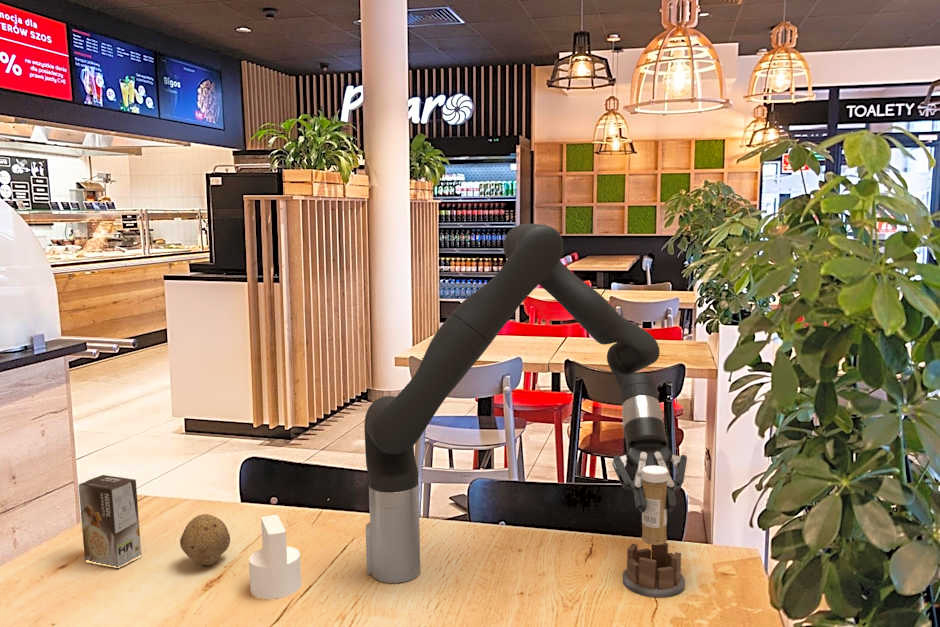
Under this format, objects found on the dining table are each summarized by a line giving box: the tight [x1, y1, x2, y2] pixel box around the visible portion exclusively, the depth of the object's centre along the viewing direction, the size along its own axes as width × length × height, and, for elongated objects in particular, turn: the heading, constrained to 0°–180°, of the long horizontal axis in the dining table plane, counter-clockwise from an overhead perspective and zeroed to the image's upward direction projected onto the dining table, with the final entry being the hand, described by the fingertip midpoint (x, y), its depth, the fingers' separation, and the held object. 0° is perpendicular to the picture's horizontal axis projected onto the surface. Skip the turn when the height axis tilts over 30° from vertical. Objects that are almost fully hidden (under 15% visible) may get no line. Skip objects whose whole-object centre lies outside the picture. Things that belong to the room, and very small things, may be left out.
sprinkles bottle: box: [641, 466, 669, 546], centre depth 139 cm, size 5×5×13 cm
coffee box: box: [78, 474, 142, 567], centre depth 153 cm, size 9×6×16 cm
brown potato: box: [179, 513, 231, 566], centre depth 151 cm, size 9×9×10 cm
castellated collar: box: [622, 542, 686, 599], centre depth 141 cm, size 11×11×6 cm
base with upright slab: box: [248, 514, 302, 600], centre depth 140 cm, size 9×9×12 cm
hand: (656, 509), depth 138 cm, fingers closed on sprinkles bottle, 4 cm apart
